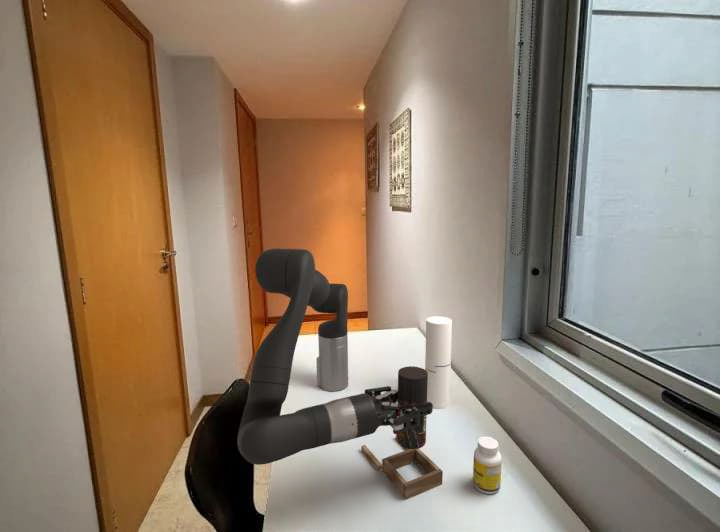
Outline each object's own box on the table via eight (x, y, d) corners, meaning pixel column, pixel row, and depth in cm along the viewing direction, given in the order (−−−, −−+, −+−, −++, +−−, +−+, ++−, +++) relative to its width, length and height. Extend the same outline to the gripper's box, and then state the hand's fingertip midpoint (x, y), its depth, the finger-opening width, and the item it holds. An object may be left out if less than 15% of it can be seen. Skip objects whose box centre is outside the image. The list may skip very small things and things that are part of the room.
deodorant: (425, 450, 76) (427, 380, 74) (396, 447, 77) (397, 377, 75) (425, 433, 82) (427, 367, 80) (398, 430, 83) (399, 365, 81)
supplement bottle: (468, 477, 81) (470, 434, 80) (493, 475, 82) (495, 433, 80) (478, 496, 76) (480, 451, 74) (505, 494, 76) (507, 449, 75)
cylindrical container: (449, 409, 107) (452, 324, 103) (424, 407, 109) (425, 323, 105) (449, 397, 114) (451, 316, 110) (425, 395, 116) (426, 315, 112)
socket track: (361, 450, 90) (361, 438, 90) (399, 437, 95) (399, 426, 94) (402, 501, 75) (402, 487, 74) (445, 482, 80) (445, 469, 79)
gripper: (363, 418, 65) (444, 398, 72) (334, 383, 78) (404, 369, 85) (363, 458, 67) (442, 434, 73) (334, 417, 80) (404, 400, 86)
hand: (422, 399), depth 79 cm, fingers closed on deodorant, 6 cm apart
